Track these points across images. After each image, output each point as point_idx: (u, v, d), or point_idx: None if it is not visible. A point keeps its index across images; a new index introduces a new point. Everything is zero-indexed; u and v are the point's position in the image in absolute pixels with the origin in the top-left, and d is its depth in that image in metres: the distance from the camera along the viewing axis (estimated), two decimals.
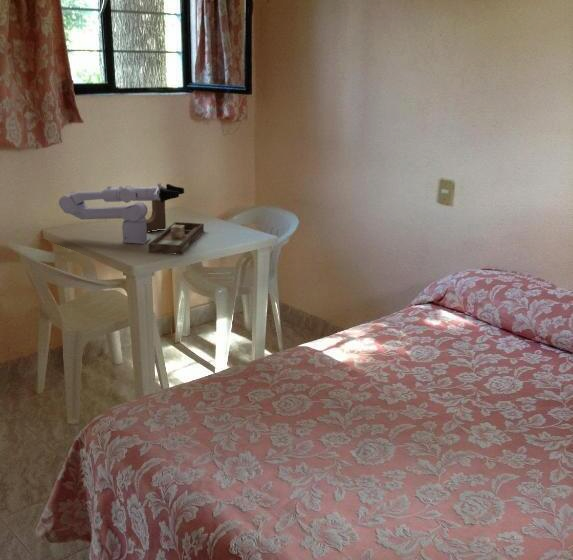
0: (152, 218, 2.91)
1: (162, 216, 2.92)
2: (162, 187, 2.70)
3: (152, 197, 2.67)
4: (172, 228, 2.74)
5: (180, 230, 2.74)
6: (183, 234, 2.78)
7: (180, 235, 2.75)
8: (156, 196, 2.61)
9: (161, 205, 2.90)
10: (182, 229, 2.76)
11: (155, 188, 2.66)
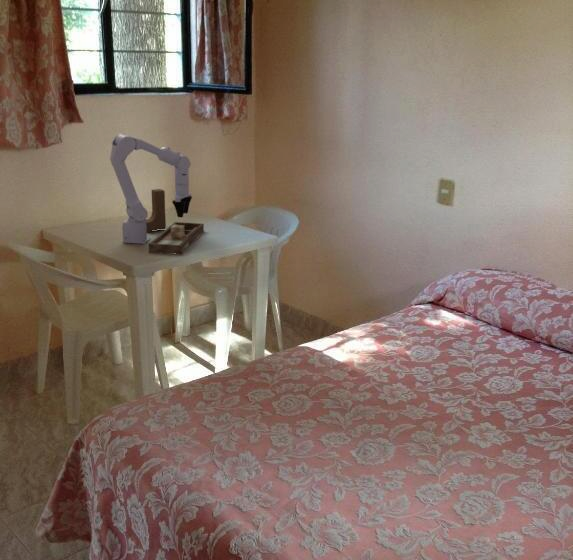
0: (152, 218, 2.91)
1: (162, 216, 2.92)
2: None
3: (177, 189, 2.77)
4: (172, 228, 2.74)
5: (180, 230, 2.74)
6: (183, 234, 2.78)
7: (180, 235, 2.75)
8: (177, 199, 2.73)
9: (161, 205, 2.90)
10: (182, 229, 2.76)
11: (186, 192, 2.78)
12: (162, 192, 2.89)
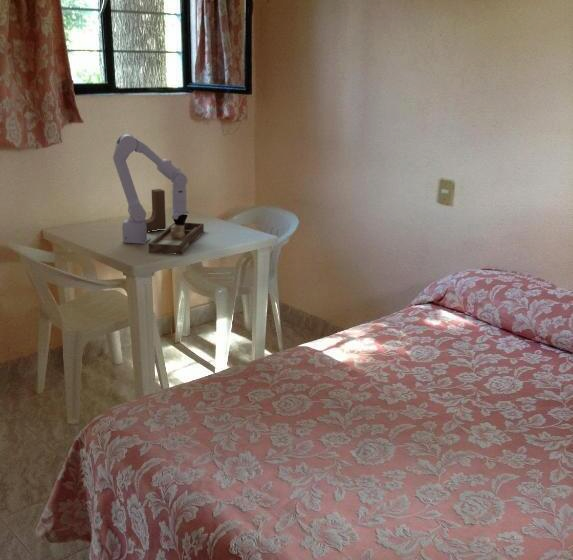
0: (152, 218, 2.91)
1: (162, 216, 2.92)
2: None
3: (175, 206, 2.75)
4: (172, 228, 2.74)
5: (180, 230, 2.74)
6: (183, 234, 2.78)
7: (180, 235, 2.75)
8: (175, 217, 2.71)
9: (161, 205, 2.90)
10: (182, 229, 2.76)
11: (184, 210, 2.76)
12: (162, 192, 2.89)
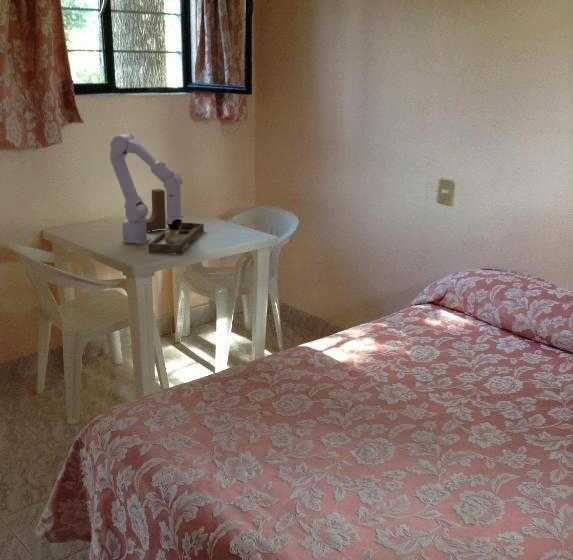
0: (152, 218, 2.91)
1: (162, 216, 2.92)
2: None
3: (169, 211, 2.67)
4: (166, 233, 2.66)
5: (175, 235, 2.66)
6: (178, 239, 2.70)
7: (175, 240, 2.67)
8: (169, 222, 2.63)
9: (161, 205, 2.90)
10: (177, 234, 2.67)
11: (178, 214, 2.68)
12: (162, 192, 2.88)
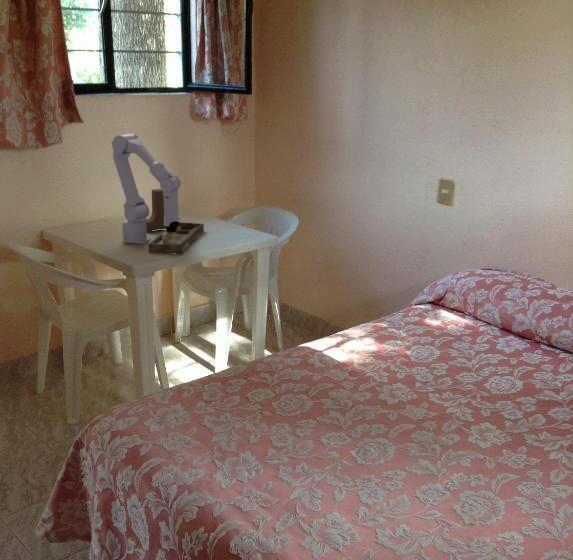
0: (152, 218, 2.91)
1: (162, 216, 2.92)
2: None
3: (166, 213, 2.63)
4: (163, 235, 2.63)
5: (172, 238, 2.63)
6: (175, 242, 2.66)
7: (172, 243, 2.63)
8: (166, 224, 2.60)
9: (161, 205, 2.90)
10: (174, 236, 2.64)
11: (175, 216, 2.64)
12: (162, 192, 2.89)
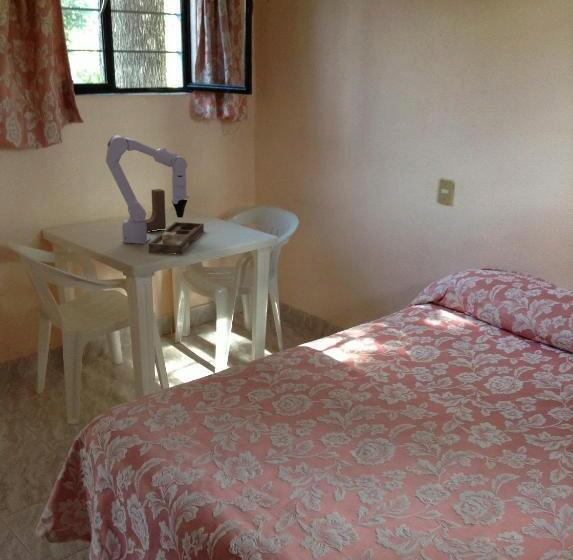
0: (152, 218, 2.91)
1: (162, 216, 2.92)
2: None
3: (174, 191, 2.73)
4: (163, 235, 2.63)
5: (172, 238, 2.63)
6: (175, 242, 2.66)
7: (172, 243, 2.63)
8: (174, 201, 2.69)
9: (161, 205, 2.90)
10: (174, 236, 2.64)
11: (183, 194, 2.74)
12: (162, 192, 2.89)
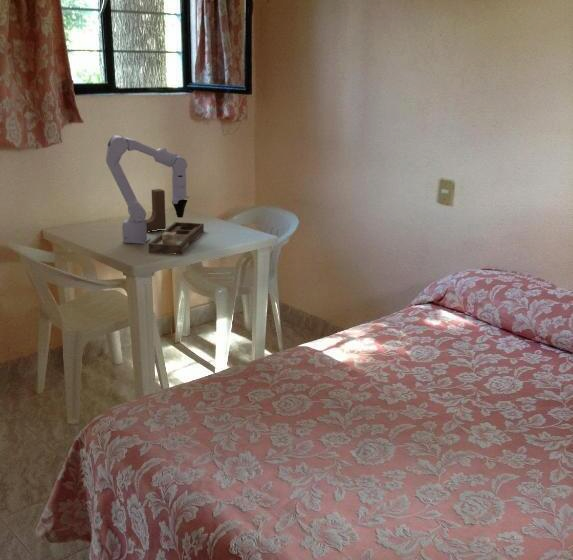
0: (152, 218, 2.91)
1: (162, 216, 2.92)
2: None
3: (175, 191, 2.73)
4: (163, 235, 2.63)
5: (172, 238, 2.63)
6: (175, 242, 2.66)
7: (172, 243, 2.63)
8: (174, 201, 2.69)
9: (161, 205, 2.90)
10: (174, 236, 2.64)
11: (183, 194, 2.74)
12: (162, 192, 2.89)
